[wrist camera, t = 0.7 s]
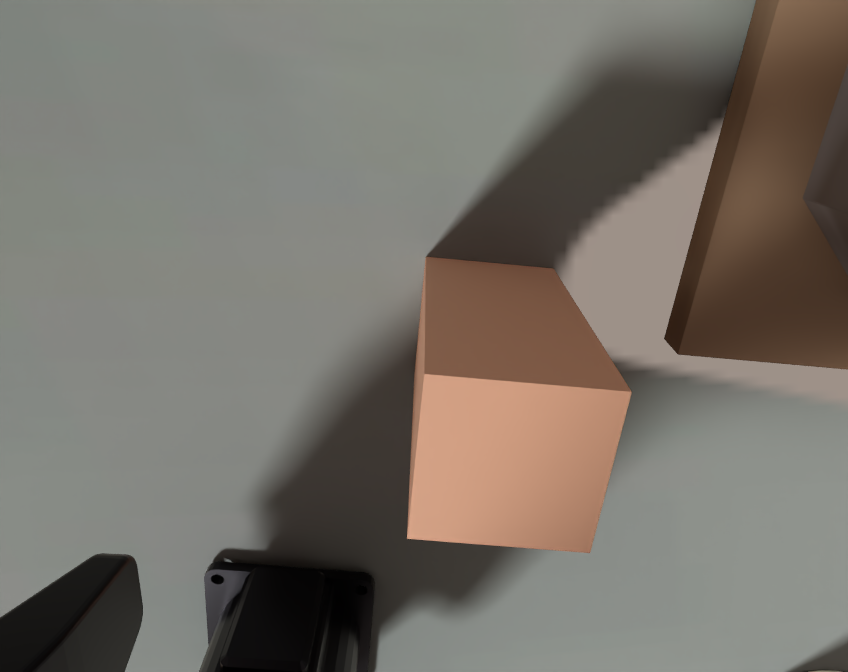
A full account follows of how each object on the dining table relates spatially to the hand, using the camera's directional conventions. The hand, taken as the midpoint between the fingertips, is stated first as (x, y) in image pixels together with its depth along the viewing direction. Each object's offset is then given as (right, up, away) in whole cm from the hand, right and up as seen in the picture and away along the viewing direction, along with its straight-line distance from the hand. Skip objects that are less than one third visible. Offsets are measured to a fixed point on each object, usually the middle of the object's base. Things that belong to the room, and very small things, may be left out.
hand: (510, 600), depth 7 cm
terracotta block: (+1, +4, +12) cm, 13 cm away
